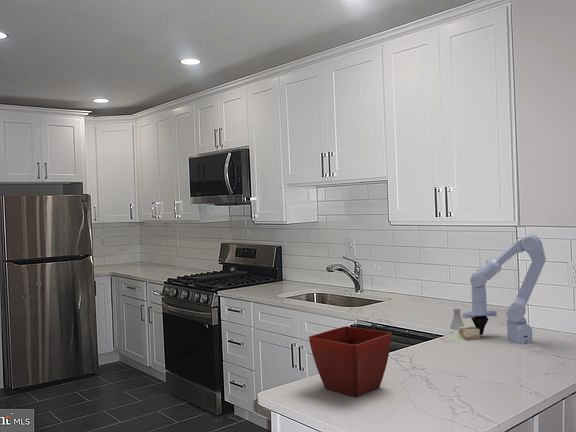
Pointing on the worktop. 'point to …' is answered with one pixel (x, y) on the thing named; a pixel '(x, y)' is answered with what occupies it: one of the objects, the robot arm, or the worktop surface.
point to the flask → (456, 320)
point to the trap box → (459, 339)
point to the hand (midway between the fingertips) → (480, 334)
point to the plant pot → (351, 358)
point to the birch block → (469, 333)
